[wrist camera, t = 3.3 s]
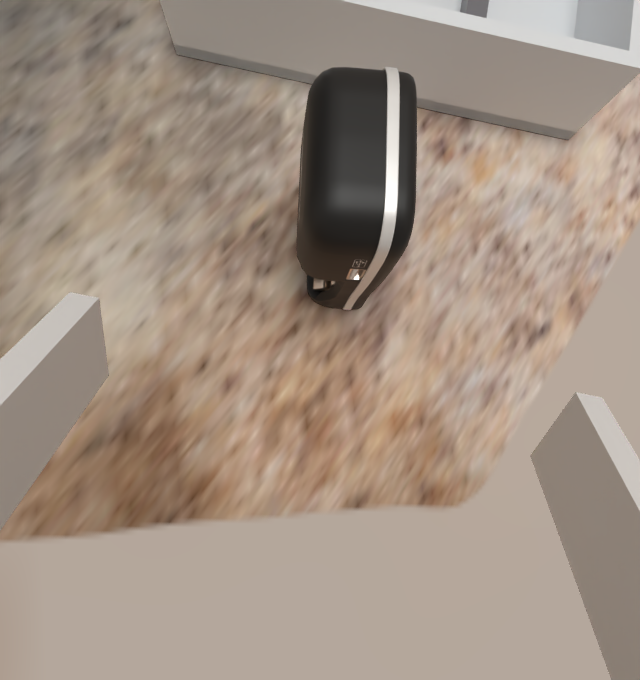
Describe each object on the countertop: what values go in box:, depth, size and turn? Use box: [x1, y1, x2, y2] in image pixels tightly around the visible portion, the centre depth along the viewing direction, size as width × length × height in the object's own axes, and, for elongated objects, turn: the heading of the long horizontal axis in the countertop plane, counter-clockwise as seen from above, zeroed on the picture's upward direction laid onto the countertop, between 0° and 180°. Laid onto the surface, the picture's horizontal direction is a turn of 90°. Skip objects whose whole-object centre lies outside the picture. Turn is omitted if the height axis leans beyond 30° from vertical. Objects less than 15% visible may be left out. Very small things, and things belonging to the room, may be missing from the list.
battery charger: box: [297, 67, 417, 310], centre depth 20 cm, size 7×4×11 cm, turn 178°
